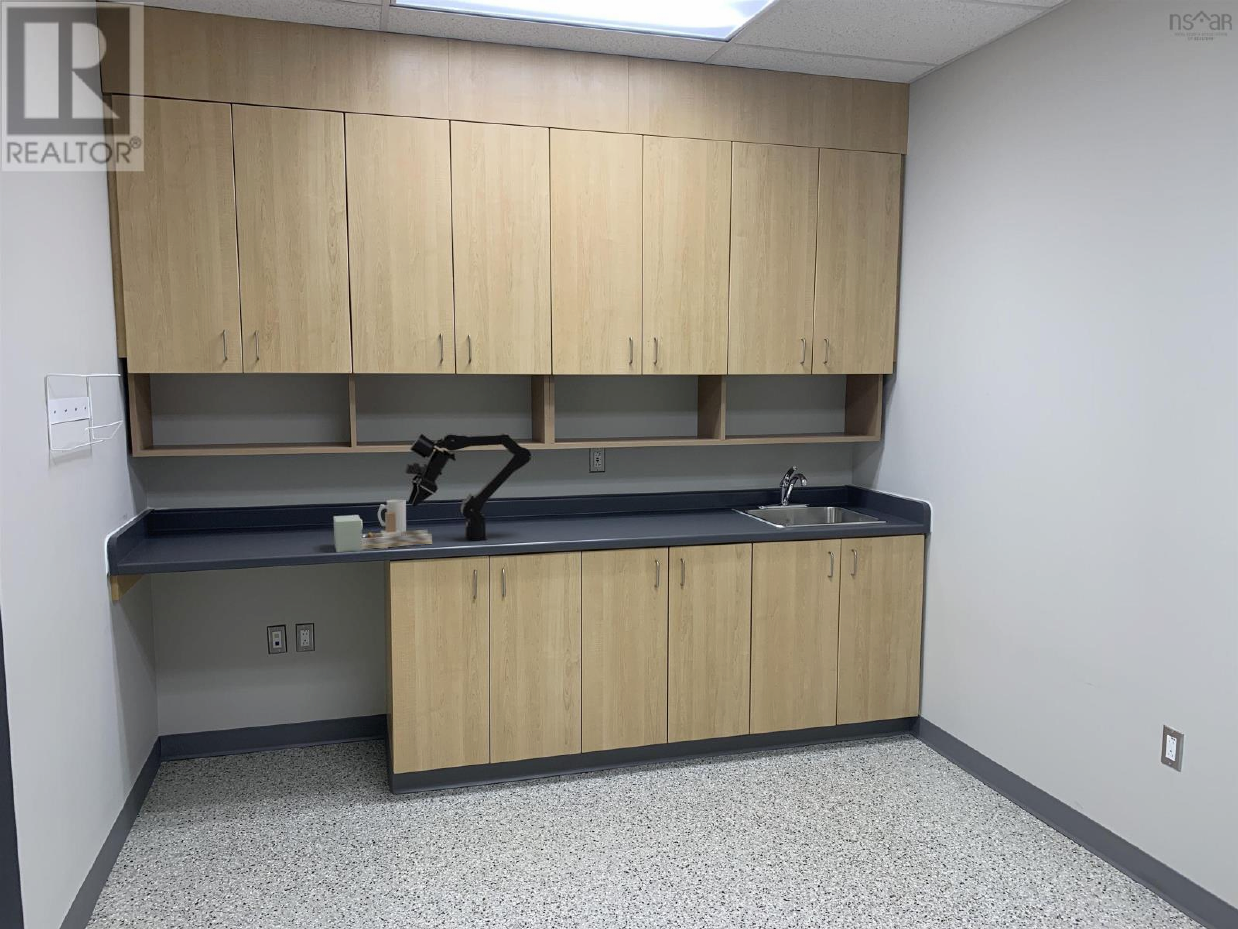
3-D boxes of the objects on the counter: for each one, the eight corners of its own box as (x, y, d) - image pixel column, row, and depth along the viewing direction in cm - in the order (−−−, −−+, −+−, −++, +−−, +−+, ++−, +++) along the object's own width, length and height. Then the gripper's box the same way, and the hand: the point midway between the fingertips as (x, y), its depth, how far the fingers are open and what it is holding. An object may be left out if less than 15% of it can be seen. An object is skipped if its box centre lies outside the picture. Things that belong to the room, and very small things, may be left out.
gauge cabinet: (360, 543, 286) (359, 514, 285) (363, 550, 275) (362, 520, 274) (334, 545, 283) (333, 516, 282) (336, 552, 272) (335, 522, 271)
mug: (407, 531, 309) (406, 499, 308) (406, 534, 302) (405, 501, 301) (379, 532, 307) (378, 500, 306) (377, 535, 300) (376, 502, 299)
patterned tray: (427, 539, 294) (427, 529, 293) (432, 544, 284) (432, 534, 284) (359, 544, 285) (359, 534, 285) (362, 549, 276) (361, 539, 276)
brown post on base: (398, 537, 288) (398, 511, 287) (401, 541, 282) (400, 513, 281) (381, 539, 286) (380, 512, 285) (383, 542, 280) (382, 514, 279)
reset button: (371, 539, 284) (371, 532, 284) (373, 542, 279) (372, 534, 279) (353, 541, 282) (353, 533, 282) (354, 543, 277) (354, 536, 277)
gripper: (411, 451, 293) (387, 489, 291) (419, 455, 276) (394, 495, 274) (438, 468, 297) (414, 505, 295) (448, 472, 280) (423, 512, 278)
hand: (411, 504), depth 285 cm, fingers open, 9 cm apart
